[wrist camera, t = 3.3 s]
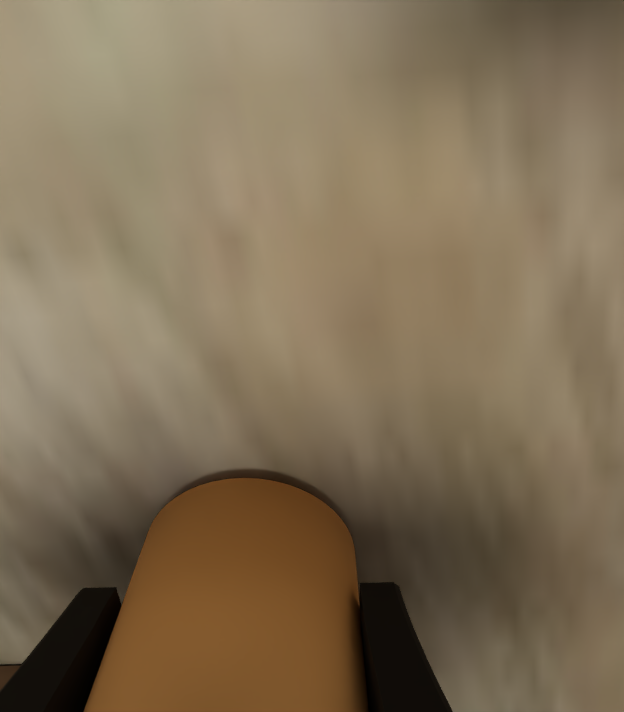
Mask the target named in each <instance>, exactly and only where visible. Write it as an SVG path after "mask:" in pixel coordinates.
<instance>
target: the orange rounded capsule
mask: <svg viewBox="0 0 624 712" xmlns="http://www.w3.org/2000/svg"><path fill="white" fill-rule="evenodd" d="M83 712H369V709H368V698H367V686H366V674H365V664H364V654H363V643H362V631H361V620H360V605H359V593H358V581H357V570H356V558H355V547H354V544H353V540H352V537H351V535H350V532H349V530H348V528H347V527H346V525H345V524H344V522H343V521H342V519H341V518H340V517H339V516H338V515H337V514H336V513H335V512H334V510H333V509H331V508H330V507H329V506H328V505H326V504H325V503H324V502H323V501H321V500H320V499H318V498H316V497H315V496H313V495H312V494H310V493H307V492H305V491H303V490H301V489H299V488H296V487H293V486H291V485H288V484H284V483H280V482H276V481H272V480H265V479H257V478H234V479H224V480H218V481H213V482H209V483H206V484H203V485H199V486H197V487H194V488H192V489H190V490H187V491H186V492H184V493H182V494H180V495H179V496H177V497H175V498H174V499H173V500H172V501H170V502H169V503H168V504H167V505H165V507H164V508H163V509H162V510H161V511H160V512H159V513H158V514H157V516H156V517H155V519H154V520H153V522H152V524H151V526H150V529H149V531H148V533H147V536H146V539H145V542H144V545H143V547H142V550H141V553H140V556H139V558H138V561H137V564H136V567H135V570H134V572H133V575H132V578H131V581H130V583H129V586H128V589H127V592H126V595H125V597H124V600H123V603H122V606H121V609H120V611H119V614H118V617H117V620H116V622H115V625H114V628H113V631H112V634H111V636H110V639H109V642H108V645H107V647H106V650H105V653H104V656H103V659H102V661H101V664H100V667H99V670H98V673H97V675H96V678H95V681H94V684H93V686H92V689H91V692H90V695H89V698H88V700H87V703H86V706H85V709H84V711H83Z"/></svg>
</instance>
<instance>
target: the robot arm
mask: <svg viewBox="0 0 624 712" xmlns="http://www.w3.org/2000/svg"><path fill="white" fill-rule="evenodd" d="M120 609H121V602H120V599H119V596H118V592H117V589H116V587H111V588H83V589H82V590H81V591H80V592H79V593H78V594H77V595H76V596H75V598H74V599H73V600H72V602H71V603H70V604H69V605H68V607H67V608H66V609H65V611H64V612H63V613H62V614H61V616H60V617H59V618H58V619H57V621H56V622H55V623H54V625H53V626H52V627H51V628H50V630H49V631H48V632H47V633H46V635H45V636H44V637H43V639H42V640H41V641H40V642H39V644H38V645H37V646H36V647H35V649H34V650H33V651H32V652H31V654H30V655H29V656H28V657H27V659H26V660H25V661H24V662H23V664H22V665H21V666H20V667H19V668H18V670H17V671H16V672H15V673H14V674H13V676H12V677H11V678H10V679H9V680H8V682H7V683H6V684H5V685H4V686H3V688H2V689H1V690H0V712H83V711H84V709H85V706H86V703H87V700H88V698H89V695H90V692H91V689H92V686H93V684H94V681H95V678H96V675H97V673H98V670H99V667H100V664H101V661H102V659H103V656H104V653H105V650H106V647H107V645H108V642H109V639H110V636H111V634H112V631H113V628H114V625H115V622H116V620H117V617H118V614H119V611H120ZM360 620H361V631H362V643H363V654H364V664H365V674H366V686H367V698H368V709H369V712H453V711H452V709H451V707H450V705H449V703H448V701H447V699H446V697H445V695H444V693H443V691H442V689H441V687H440V685H439V683H438V681H437V679H436V677H435V675H434V673H433V671H432V669H431V667H430V664H429V662H428V660H427V658H426V656H425V653H424V651H423V649H422V646H421V644H420V642H419V640H418V637H417V635H416V632H415V630H414V628H413V625H412V623H411V620H410V617H409V615H408V612H407V609H406V606H405V604H404V601H403V598H402V595H401V591H400V588H399V586H398V585H396V584H395V583H394V582H383V583H360Z"/></svg>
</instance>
